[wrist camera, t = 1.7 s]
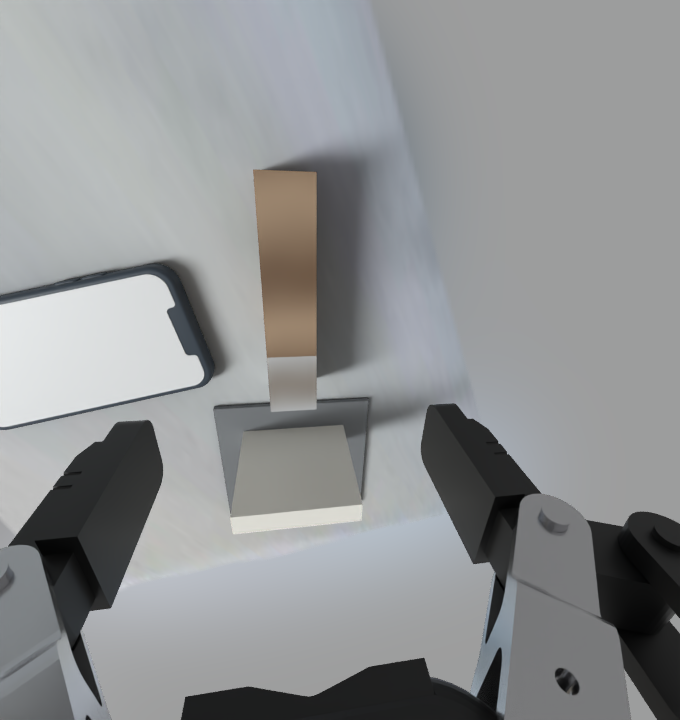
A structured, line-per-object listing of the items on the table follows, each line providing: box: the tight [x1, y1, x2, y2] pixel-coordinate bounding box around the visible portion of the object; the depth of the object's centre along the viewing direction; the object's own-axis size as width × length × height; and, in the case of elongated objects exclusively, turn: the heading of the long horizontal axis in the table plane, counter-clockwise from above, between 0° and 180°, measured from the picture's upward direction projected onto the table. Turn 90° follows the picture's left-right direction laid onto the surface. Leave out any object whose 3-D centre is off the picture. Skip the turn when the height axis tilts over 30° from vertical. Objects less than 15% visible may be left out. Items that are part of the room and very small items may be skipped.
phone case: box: [0, 264, 215, 430], centre depth 23 cm, size 9×2×16 cm
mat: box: [213, 398, 369, 514], centre depth 30 cm, size 12×12×1 cm
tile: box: [230, 425, 363, 534], centre depth 25 cm, size 2×8×8 cm, turn 88°
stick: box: [253, 170, 317, 412], centre depth 22 cm, size 14×3×4 cm, turn 178°
